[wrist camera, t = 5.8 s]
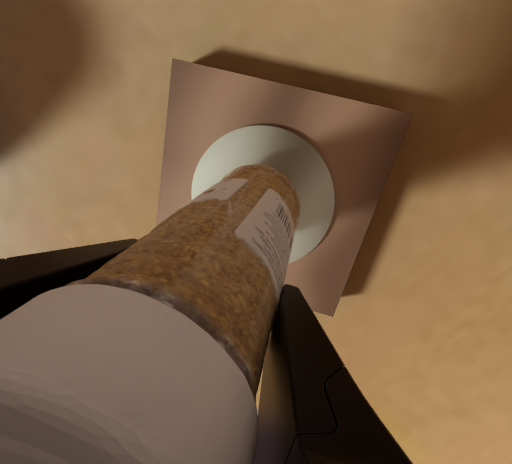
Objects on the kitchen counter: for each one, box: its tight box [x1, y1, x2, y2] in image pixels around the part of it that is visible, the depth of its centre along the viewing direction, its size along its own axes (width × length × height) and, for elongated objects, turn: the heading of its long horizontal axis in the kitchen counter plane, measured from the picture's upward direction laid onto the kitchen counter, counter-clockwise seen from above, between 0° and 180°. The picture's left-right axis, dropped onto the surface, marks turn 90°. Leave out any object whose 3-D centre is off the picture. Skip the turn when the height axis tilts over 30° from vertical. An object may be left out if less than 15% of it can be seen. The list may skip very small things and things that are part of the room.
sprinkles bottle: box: [0, 164, 300, 464], centre depth 10 cm, size 5×5×13 cm
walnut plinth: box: [157, 59, 412, 317], centre depth 18 cm, size 12×12×2 cm
